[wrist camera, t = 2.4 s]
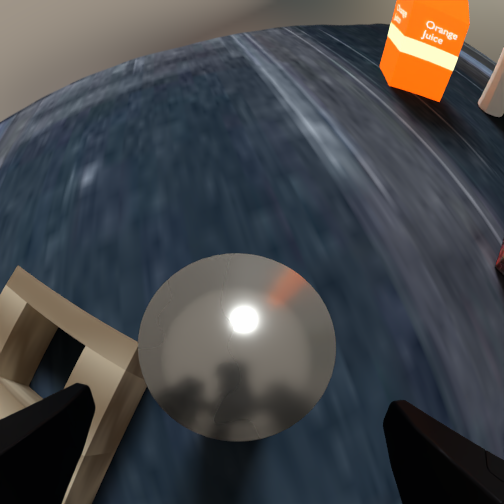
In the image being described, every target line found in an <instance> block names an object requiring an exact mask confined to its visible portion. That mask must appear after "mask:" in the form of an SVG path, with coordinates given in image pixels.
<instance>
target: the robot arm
mask: <svg viewBox="0 0 504 504" xmlns="http://www.w3.org/2000/svg"><path fill="white" fill-rule="evenodd" d="M95 409H96V407H95V402H94V399H93V396H92V392H91V389H90V387H89V386H88V385H86V384H82V383H75V384H73V385H71V386H69V387H67V388H65V389H63V390H61V391H59V392H57V393H55V394H53V395H50V396H48V397H46V398H44V399H42V400H40V401H38V402H36V403H34V404H32V405H30V406H28V407H26V408H24V409H22V410H19V411H17V412H15V413H13V414H11V415H9V416H7V417H5V418H2V419H0V504H62V501H63V499H64V496H65V494H66V491H67V489H68V486H69V484H70V481H71V479H72V476H73V474H74V471H75V469H76V466H77V464H78V462H79V459H80V457H81V455H82V452H83V449H84V446H85V443H86V440H87V436H88V433H89V430H90V427H91V423H92V420H93V417H94V414H95ZM383 429H384V433H385V438H386V443H387V448H388V453H389V459H390V463H391V468H392V471H393V474H394V477H395V481H396V484H397V487H398V490H399V494H400V497H401V500H402V504H504V460H503V459H501V458H499V457H497V456H495V455H493V454H492V453H490V452H488V451H485V449H483V448H481V447H480V446H478V445H476V444H475V443H473V442H471V441H470V440H468V439H466V438H465V437H463V436H461V435H460V434H458V433H457V432H455V431H453V430H452V429H450V428H448V427H447V426H445V425H444V424H442V423H440V422H439V421H437V420H435V419H434V418H432V417H431V416H429V415H428V414H426V413H424V412H423V411H421V410H420V409H418V408H416V407H415V406H413V405H412V404H410V403H409V402H407V401H405V400H398V401H393V402H391V404H390V406H389V408H388V411H387V413H386V415H385V418H384V421H383Z"/></svg>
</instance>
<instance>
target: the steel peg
mask: <svg viewBox="0 0 504 504" xmlns="http://www.w3.org/2000/svg"><path fill="white" fill-rule="evenodd" d="M335 354H336V340H335V333H334V327H333V324H332V321H331V317H330V315H329V312H328V310H327V308H326V306H325V304H324V302H323V301H322V299H321V298H320V296H319V295H318V293H317V292H316V291H315V290H314V288H313V287H312V286H311V285H310V284H309V283H308V282H307V281H306V280H305V279H304V278H303V277H301V276H300V275H299V274H297V273H296V272H295V271H293V270H292V269H290V268H288V267H287V266H285V265H283V264H281V263H278V262H276V261H274V260H271V259H268V258H265V257H261V256H256V255H251V254H238V253H236V254H222V255H216V256H212V257H208V258H204V259H202V260H199V261H197V262H194V263H192V264H190V265H188V266H186V267H184V268H183V269H181V270H180V271H178V272H177V273H175V274H174V275H173V276H171V277H170V278H169V279H168V280H167V281H166V282H165V283H164V284H163V285H162V286H161V287H160V289H159V290H158V291H157V292H156V293H155V295H154V296H153V298H152V300H151V301H150V303H149V305H148V307H147V309H146V311H145V313H144V316H143V319H142V322H141V326H140V331H139V337H138V355H139V363H140V367H141V371H142V375H143V377H144V380H145V382H146V385H147V387H148V389H149V391H150V392H151V394H152V396H153V397H154V399H155V400H156V401H157V403H158V404H159V405H160V407H161V408H162V409H163V410H164V411H165V412H166V413H167V414H168V415H169V416H170V417H171V418H173V419H174V420H175V421H177V422H178V423H180V424H181V425H182V426H184V427H186V428H188V429H190V430H191V431H193V432H195V433H198V434H201V435H203V436H206V437H209V438H214V439H218V440H224V441H251V440H256V439H261V438H266V437H268V436H271V435H274V434H277V433H279V432H281V431H283V430H285V429H287V428H289V427H291V426H292V425H294V424H295V423H296V422H298V421H299V420H301V419H302V418H303V417H304V416H305V415H306V414H307V413H308V412H309V411H310V410H311V409H312V408H313V407H314V406H315V405H316V403H317V402H318V401H319V399H320V398H321V396H322V395H323V393H324V391H325V389H326V388H327V385H328V383H329V380H330V378H331V375H332V371H333V368H334V363H335Z"/></svg>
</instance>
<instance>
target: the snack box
mask: <svg viewBox="0 0 504 504" xmlns="http://www.w3.org/2000/svg"><path fill="white" fill-rule="evenodd" d="M495 267H496V268H497V269H498V270H499V271H500V272H501V273H502V274H503V275H504V239H503V243H502V246H501V250H500V253H499V256H498V259H497V262H496V265H495Z"/></svg>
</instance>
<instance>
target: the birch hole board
mask: <svg viewBox="0 0 504 504" xmlns="http://www.w3.org/2000/svg"><path fill="white" fill-rule="evenodd" d="M58 327H59V328H61V329H62V330H64V331H65V332H66V333H68V334H69V335H71V336H72V337H74V338H75V339H77V340H78V341H79V342H81V343H82V344H84V345H85V348H84V350H83V352H82V354H81V355H80V357H79V359H78V361H77V363H76V365H75V367H74V369H73V371H72V373H71V375H70V377H69V379H68V381H67V383H66V385H65V387H64V389H65V388H67V387H69V386H71V385H73V384H75V383H82V384H86V385H88V386H89V387H90V389H91V392H92V396H93V399H94V402H95V407H96V409H95V414H94V417H93V420H92V423H91V427H90V430H89V433H88V436H87V440H86V443H85V446H84V449H83V452H82V455H81V457H80V459H79V462H78V464H77V466H76V469H75V471H74V474H73V476H72V479H71V481H70V484H69V486H68V489H67V491H66V494H65V496H64V499H63V501H62V504H92V502H93V500H94V498H95V496H96V493H97V491H98V489H99V487H100V484H101V482H102V480H103V478H104V475H105V473H106V471H107V469H108V467H109V465H110V462H111V460H112V458H113V456H114V454H115V452H116V449H117V447H118V445H119V443H120V441H121V439H122V437H123V435H124V432H125V430H126V428H127V426H128V424H129V422H130V420H131V418H132V416H133V414H134V412H135V410H136V408H137V405H138V403H139V401H140V399H141V397H142V395H143V393H144V391H145V389H146V387H147V385H146V382H145V380H144V377H143V375H142V371H141V367H140V363H139V355H138V342H137V341H135V340H133V339H131V338H129V337H128V336H126V335H124V334H122V333H120V332H119V331H117V330H115V329H113V328H112V327H110V326H108V325H107V324H105V323H103V322H101V321H100V320H98V319H96V318H95V317H93V316H91V315H90V314H88V313H87V312H85V311H83V310H82V309H80V308H79V307H77V306H76V305H74V304H72V303H71V302H69V301H68V300H66V299H65V298H63V297H62V296H60V295H59V294H57V293H56V292H54V291H53V290H51V289H50V288H48V287H47V286H46V285H44V284H43V283H41V282H40V281H39V280H37V279H36V278H34V277H33V276H32V275H30V274H29V273H27V272H26V271H25V270H23V269H22V268H21V267H19V266H17V268H16V269H15V271H14V273H13V274H12V276H11V278H10V279H9V281H8V282H7V284H6V286H5V288H4V289H3V291H2V293H1V294H0V419H2V418H5V417H7V416H9V415H11V414H13V413H15V412H17V411H19V410H22V409H24V408H26V407H28V406H30V405H32V404H34V403H36V402H38V401H40V400H42V399H43V398H42V397H40V396H39V395H38V394H37V393H36V392H35V391H34V390H32V389H31V388H30V387H29V384H30V382H31V380H32V378H33V376H34V374H35V372H36V370H37V367H38V365H39V363H40V361H41V359H42V357H43V355H44V353H45V351H46V349H47V348H48V346H49V344H50V342H51V340H52V338H53V336H54V334H55V332H56V331H57V329H58Z"/></svg>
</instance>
